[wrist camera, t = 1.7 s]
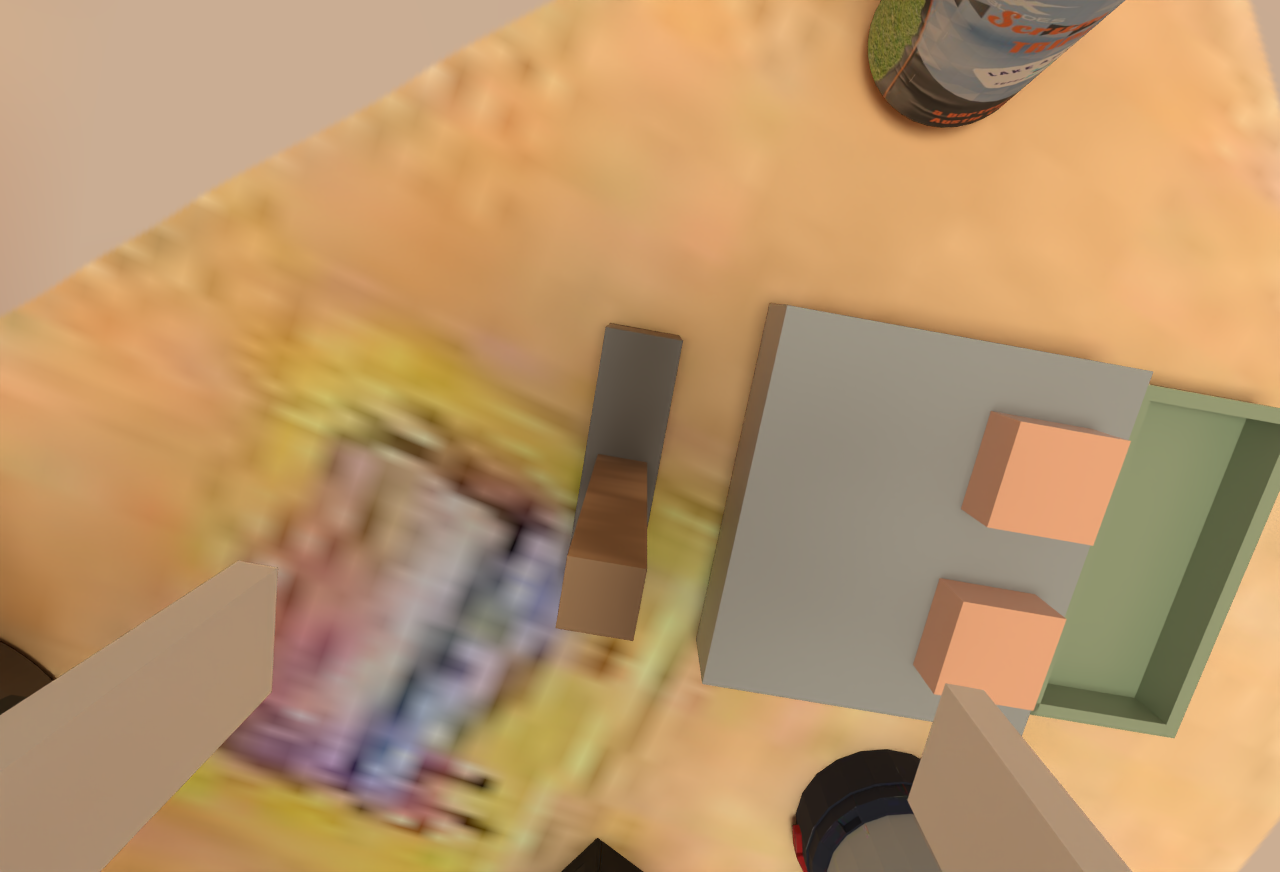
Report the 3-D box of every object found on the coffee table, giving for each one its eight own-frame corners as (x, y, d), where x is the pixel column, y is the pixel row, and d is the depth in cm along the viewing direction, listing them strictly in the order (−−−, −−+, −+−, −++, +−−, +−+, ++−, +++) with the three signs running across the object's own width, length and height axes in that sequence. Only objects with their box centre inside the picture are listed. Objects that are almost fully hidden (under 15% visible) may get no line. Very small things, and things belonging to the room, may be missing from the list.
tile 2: (960, 508, 25) (987, 527, 23) (990, 411, 24) (1020, 421, 22) (1058, 526, 25) (1093, 545, 23) (1092, 428, 24) (1131, 441, 22)
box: (993, 679, 31) (1022, 713, 28) (1097, 374, 27) (1141, 383, 25) (1133, 702, 31) (1174, 738, 28) (1253, 402, 27) (1312, 414, 25)
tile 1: (912, 664, 27) (933, 694, 25) (939, 577, 26) (963, 601, 24) (1005, 680, 27) (1033, 710, 25) (1035, 594, 26) (1066, 619, 24)
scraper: (568, 577, 30) (510, 789, 17) (610, 323, 27) (577, 351, 15) (631, 588, 30) (619, 806, 17) (679, 335, 27) (706, 375, 15)
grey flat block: (696, 639, 30) (702, 683, 27) (769, 303, 27) (787, 305, 23) (980, 686, 31) (1021, 736, 27) (1090, 361, 27) (1153, 371, 24)
